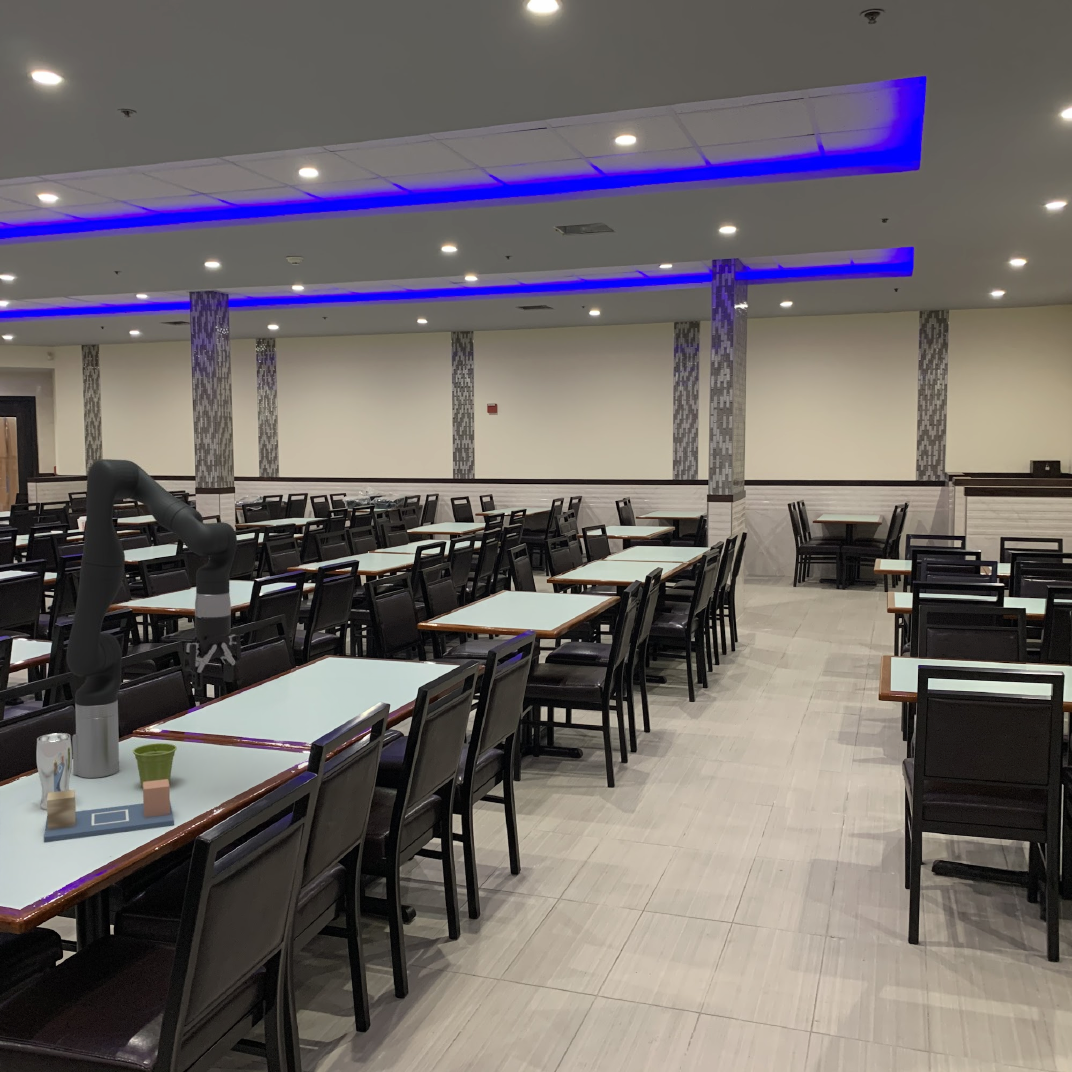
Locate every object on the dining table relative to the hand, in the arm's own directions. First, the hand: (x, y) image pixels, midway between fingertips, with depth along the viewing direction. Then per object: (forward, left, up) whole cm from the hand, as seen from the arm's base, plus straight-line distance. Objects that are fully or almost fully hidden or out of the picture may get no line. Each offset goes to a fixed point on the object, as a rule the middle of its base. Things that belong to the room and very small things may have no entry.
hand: (213, 685), depth 221 cm
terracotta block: (-6, -15, -24) cm, 29 cm away
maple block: (-22, -24, -24) cm, 40 cm away
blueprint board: (-14, -19, -25) cm, 34 cm away
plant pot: (-16, +4, -25) cm, 30 cm away
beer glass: (-31, -11, -25) cm, 41 cm away
